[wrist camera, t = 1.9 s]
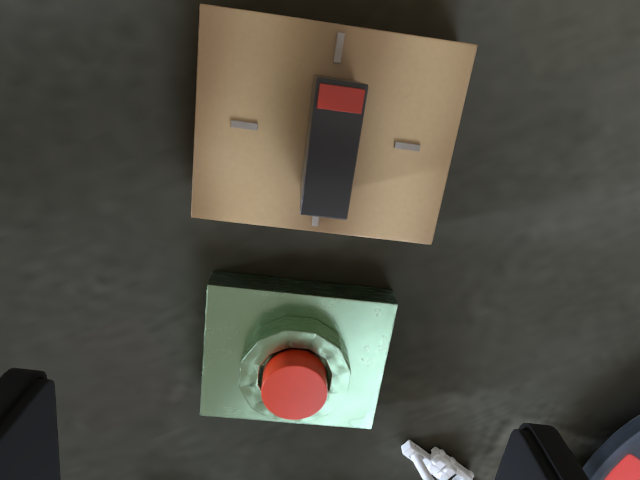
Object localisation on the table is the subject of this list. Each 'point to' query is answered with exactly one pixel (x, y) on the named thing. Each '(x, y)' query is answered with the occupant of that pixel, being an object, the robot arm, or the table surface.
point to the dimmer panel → (293, 111)
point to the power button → (294, 384)
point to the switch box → (294, 344)
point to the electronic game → (617, 455)
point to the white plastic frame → (435, 463)
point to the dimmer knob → (331, 146)
